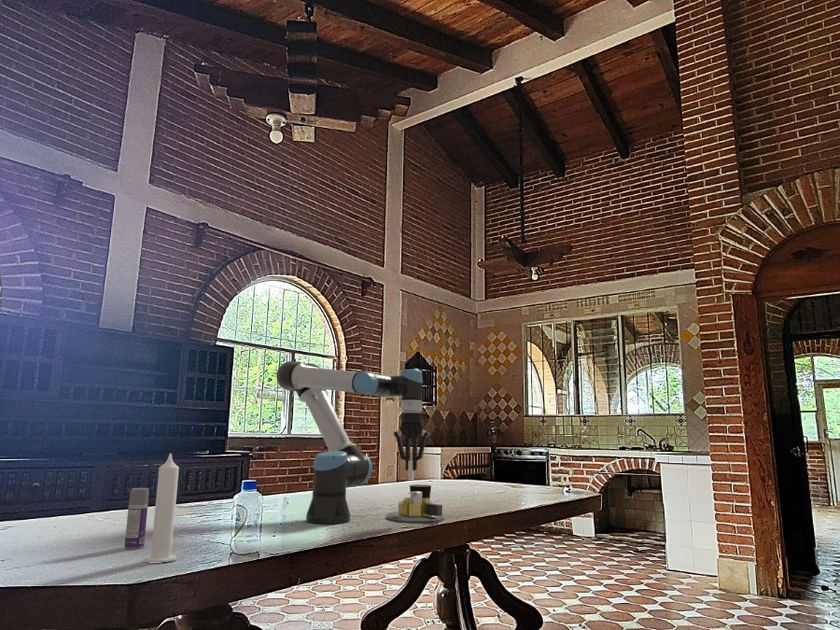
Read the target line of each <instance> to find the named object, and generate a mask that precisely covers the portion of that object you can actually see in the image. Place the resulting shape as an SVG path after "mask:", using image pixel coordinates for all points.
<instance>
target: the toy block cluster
mask: <svg viewBox="0 0 840 630" xmlns="http://www.w3.org/2000/svg"><path fill="white" fill-rule="evenodd" d="M397 512H398V514H399V515H404V516H420V517H421V516H431V515H433V516H442V514H443V504H438V503H434V502H433V501H429V498H423V500H422V504H410V497H403V499H402V501H399V502H398V511H397Z"/></svg>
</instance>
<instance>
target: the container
mask: <svg viewBox="0 0 840 630" xmlns="http://www.w3.org/2000/svg"><path fill="white" fill-rule="evenodd" d="M149 495H150V488H148V487H136V488H135V487H134V488H131V489H130V493H129V501H128V508H127V516H126V517H127V518H126V528H125V539H124V545H123V546H124V548H126V549H125V550H134V549H133V548H140V549H142V548H141V547H143V548H144V546H145V537H146V527H147V518H148V507H149Z"/></svg>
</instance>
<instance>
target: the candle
mask: <svg viewBox="0 0 840 630" xmlns="http://www.w3.org/2000/svg"><path fill="white" fill-rule="evenodd" d="M179 470H180V466H178V465H177V464H175V462H174V460H173V454H172V453H169V455H168V457H167V460H166V461H165V463H163V464H162V465H161V466H159V468H158V477H157V487H156V496H155V508H154V519H153V529H152V538H151V539H152V540H151V547H150V548H151V550H150V555H148V556H145V558H144V559H143V560H145V561H147V562H166V561H172V560H175V559H176V558H178V557H177V555H175V554H172V549H173V538H174V528H175V527H174V525H175V514H176V505H177V494H178V483H179V482H178V481H179ZM176 560H177V559H176ZM176 560H175V561H176ZM145 561H144V562H145Z"/></svg>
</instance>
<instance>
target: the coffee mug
mask: <svg viewBox="0 0 840 630" xmlns="http://www.w3.org/2000/svg"><path fill="white" fill-rule="evenodd" d="M413 491H418V492H422V500H423V498H429V502H431V501H430V499H431V492H432V485H431V484H410V485H409V493H410V492H413Z"/></svg>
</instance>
